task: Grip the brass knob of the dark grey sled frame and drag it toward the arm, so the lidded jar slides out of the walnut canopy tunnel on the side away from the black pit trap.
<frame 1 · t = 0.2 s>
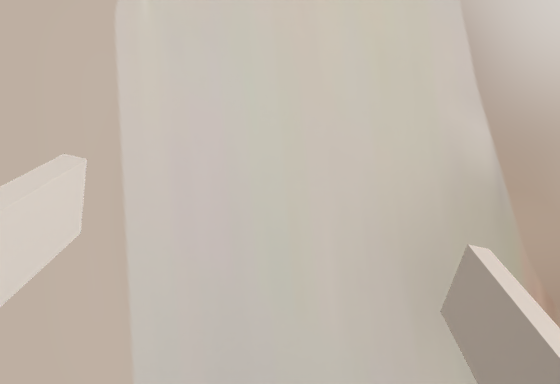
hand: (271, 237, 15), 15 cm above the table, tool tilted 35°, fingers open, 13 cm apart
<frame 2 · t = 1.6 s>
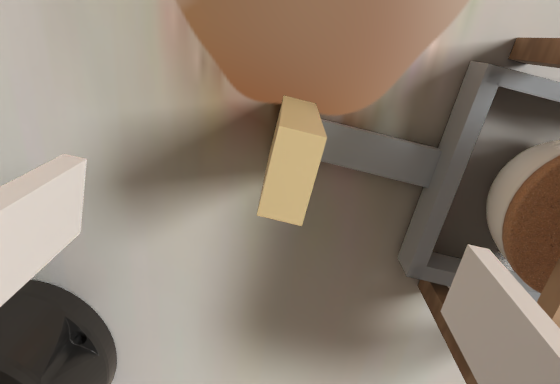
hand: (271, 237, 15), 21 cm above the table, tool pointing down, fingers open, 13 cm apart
tunnel: (533, 191, 36), on the table
sled: (492, 199, 30), point 6 cm above the table, slide at 0.0 cm
lidded jar: (532, 190, 37), resting in sled
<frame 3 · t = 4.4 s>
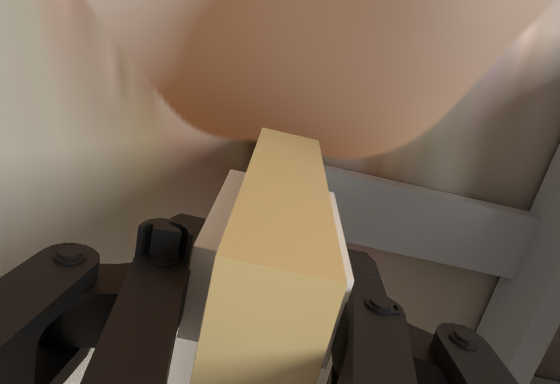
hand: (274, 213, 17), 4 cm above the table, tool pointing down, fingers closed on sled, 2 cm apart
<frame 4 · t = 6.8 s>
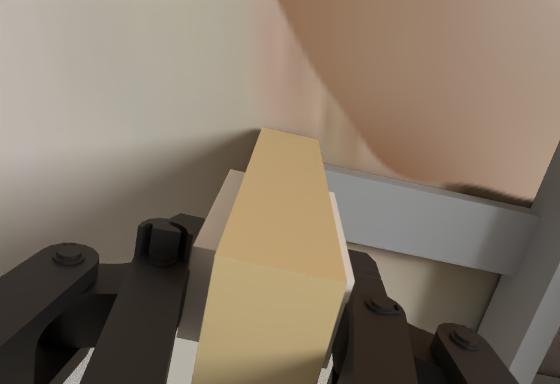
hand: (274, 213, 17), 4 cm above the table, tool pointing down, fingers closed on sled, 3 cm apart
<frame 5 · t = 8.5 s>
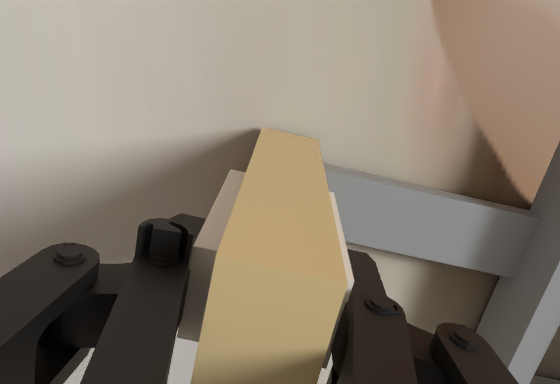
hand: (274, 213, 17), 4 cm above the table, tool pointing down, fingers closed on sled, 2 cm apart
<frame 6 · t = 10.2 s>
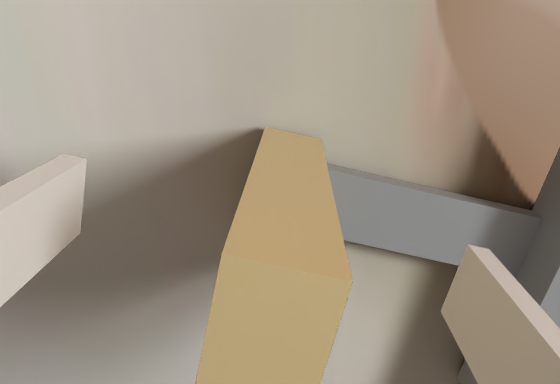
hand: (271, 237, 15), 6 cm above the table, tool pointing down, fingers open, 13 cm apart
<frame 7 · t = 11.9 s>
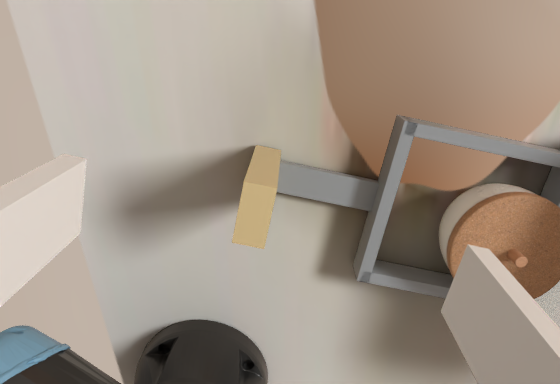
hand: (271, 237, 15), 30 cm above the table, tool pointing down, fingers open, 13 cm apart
sled: (411, 222, 40), point 6 cm above the table, slide at 15.9 cm
lidded jar: (477, 218, 47), resting in sled
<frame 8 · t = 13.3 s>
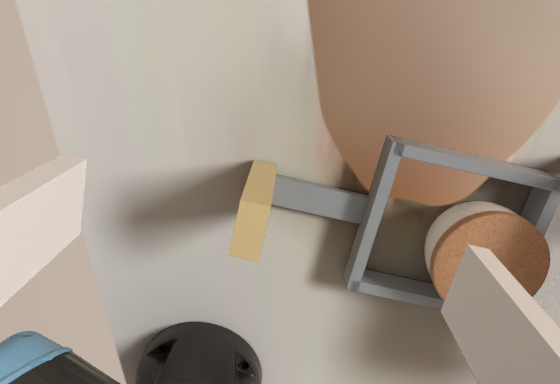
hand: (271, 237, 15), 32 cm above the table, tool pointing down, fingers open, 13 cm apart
sled: (397, 236, 43), point 6 cm above the table, slide at 15.9 cm
lidded jar: (461, 232, 50), resting in sled
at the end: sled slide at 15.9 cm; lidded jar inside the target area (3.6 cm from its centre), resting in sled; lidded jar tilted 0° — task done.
